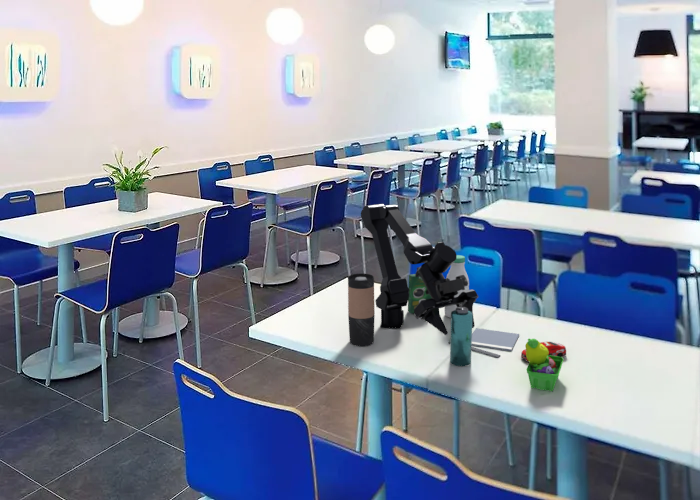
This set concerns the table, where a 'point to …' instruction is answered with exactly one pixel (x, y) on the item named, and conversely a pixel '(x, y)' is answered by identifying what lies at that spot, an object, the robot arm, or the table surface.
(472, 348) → the line
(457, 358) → the bottle
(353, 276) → the travel mug
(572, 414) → the table surface
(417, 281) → the coffee box
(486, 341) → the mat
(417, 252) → the robot arm
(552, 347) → the race car
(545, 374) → the fruit basket
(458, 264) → the milk bottle
